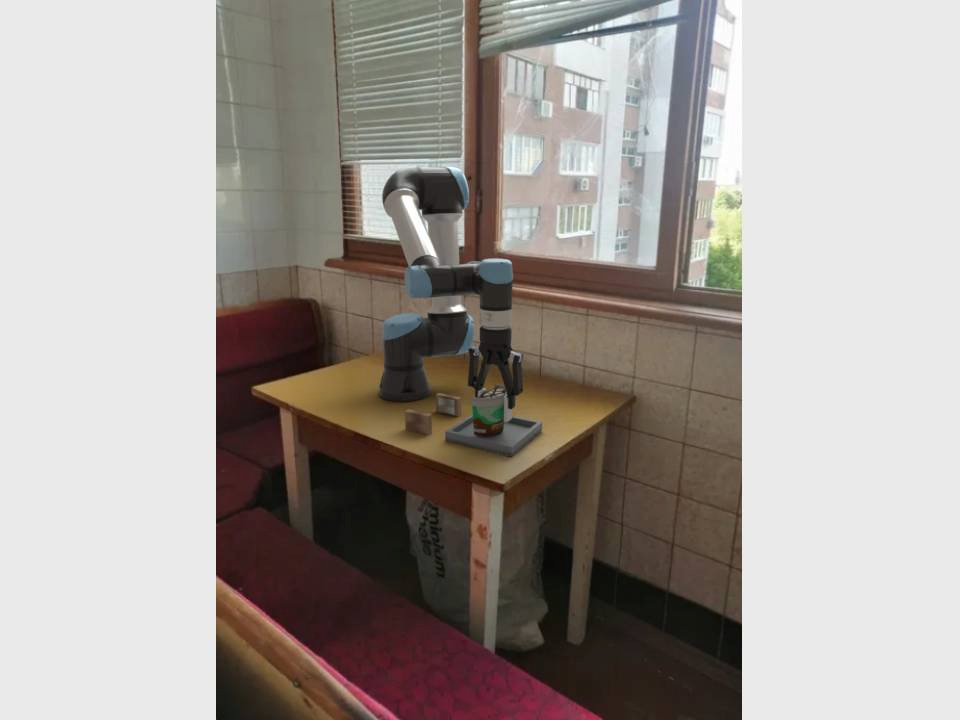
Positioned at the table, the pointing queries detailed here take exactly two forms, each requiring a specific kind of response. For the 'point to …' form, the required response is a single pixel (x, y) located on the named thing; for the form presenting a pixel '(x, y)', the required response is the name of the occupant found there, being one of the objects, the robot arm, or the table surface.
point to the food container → (489, 412)
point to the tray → (503, 443)
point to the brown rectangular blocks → (423, 420)
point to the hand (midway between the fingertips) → (494, 417)
